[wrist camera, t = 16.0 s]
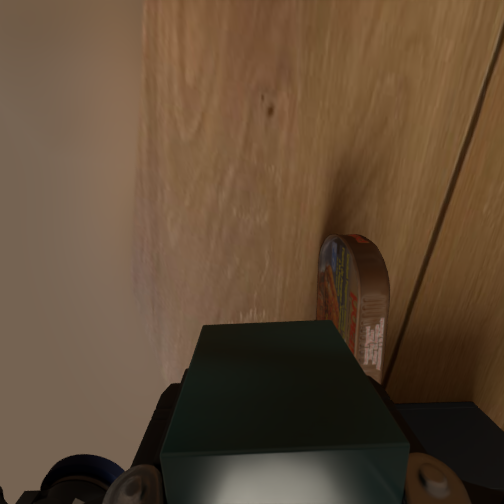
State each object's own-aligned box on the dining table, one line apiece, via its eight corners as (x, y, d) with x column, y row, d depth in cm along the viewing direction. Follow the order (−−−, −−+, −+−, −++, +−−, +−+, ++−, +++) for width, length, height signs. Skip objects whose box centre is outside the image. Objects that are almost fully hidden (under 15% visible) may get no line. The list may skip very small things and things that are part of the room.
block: (212, 428, 11) (184, 616, 6) (202, 324, 10) (158, 455, 5) (327, 423, 11) (389, 606, 6) (331, 319, 10) (412, 444, 5)
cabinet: (342, 484, 33) (378, 600, 24) (348, 405, 30) (393, 503, 21) (454, 481, 33) (534, 596, 24) (472, 401, 30) (573, 498, 21)
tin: (319, 227, 25) (353, 246, 17) (351, 226, 25) (401, 245, 17) (314, 360, 28) (340, 430, 20) (342, 359, 28) (380, 429, 20)
